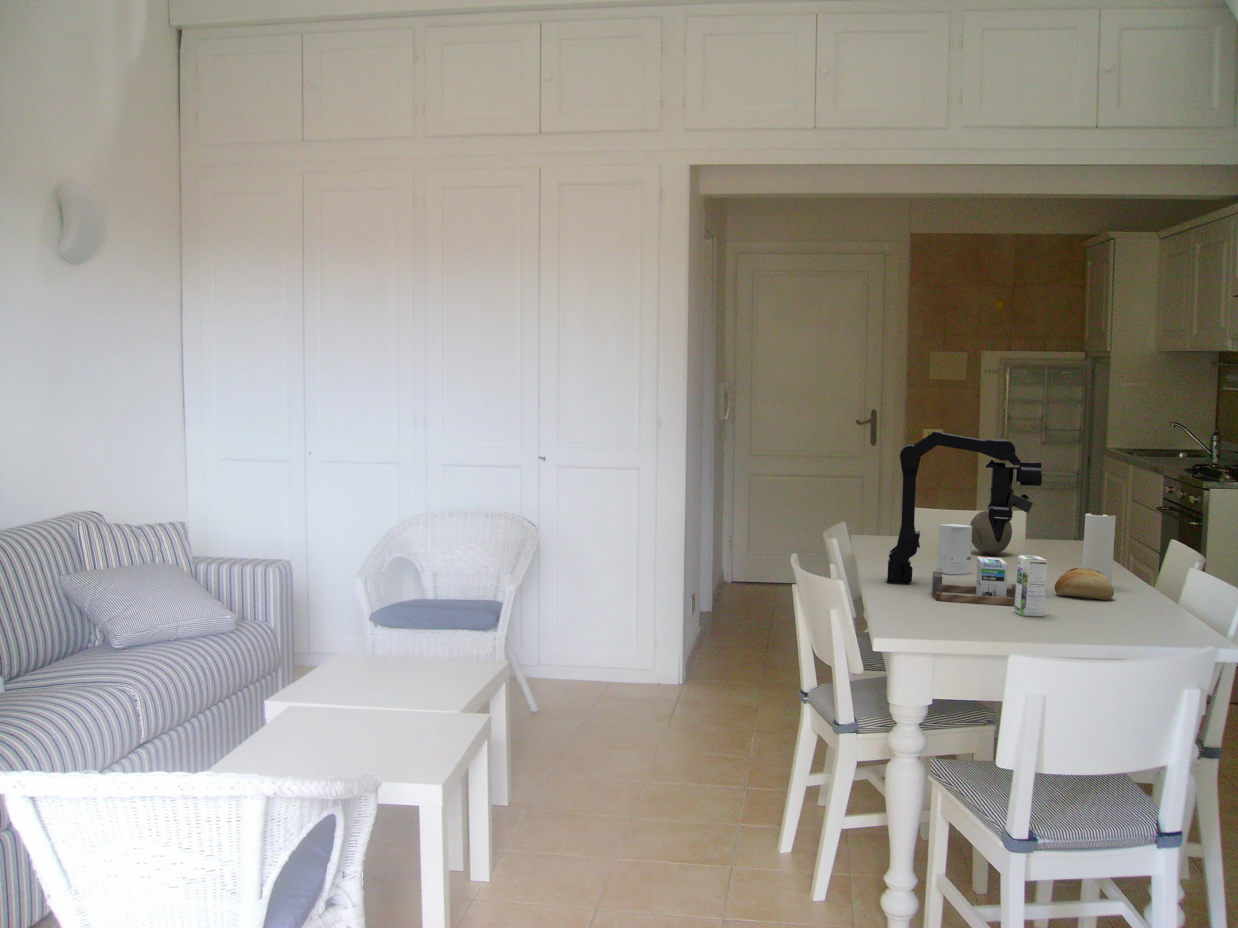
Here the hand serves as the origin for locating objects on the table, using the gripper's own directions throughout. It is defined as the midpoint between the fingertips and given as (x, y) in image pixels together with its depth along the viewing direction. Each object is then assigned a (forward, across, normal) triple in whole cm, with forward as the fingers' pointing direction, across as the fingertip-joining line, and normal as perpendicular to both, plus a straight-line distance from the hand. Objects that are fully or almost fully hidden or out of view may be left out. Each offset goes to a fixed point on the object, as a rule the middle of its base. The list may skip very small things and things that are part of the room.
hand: (998, 539), depth 300 cm
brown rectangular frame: (+14, -16, +5) cm, 22 cm away
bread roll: (+14, -1, -23) cm, 27 cm away
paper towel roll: (+14, +15, -27) cm, 34 cm away
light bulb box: (+14, -16, +1) cm, 21 cm away
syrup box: (+14, -32, -8) cm, 36 cm away
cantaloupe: (+14, +68, +1) cm, 69 cm away
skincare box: (+14, +23, +12) cm, 30 cm away
